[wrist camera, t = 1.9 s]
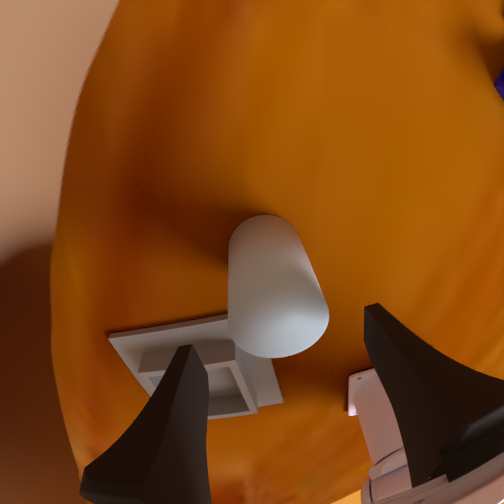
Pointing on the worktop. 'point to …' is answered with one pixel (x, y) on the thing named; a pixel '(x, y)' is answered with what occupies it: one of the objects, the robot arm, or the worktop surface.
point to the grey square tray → (213, 358)
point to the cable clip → (500, 84)
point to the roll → (272, 290)
